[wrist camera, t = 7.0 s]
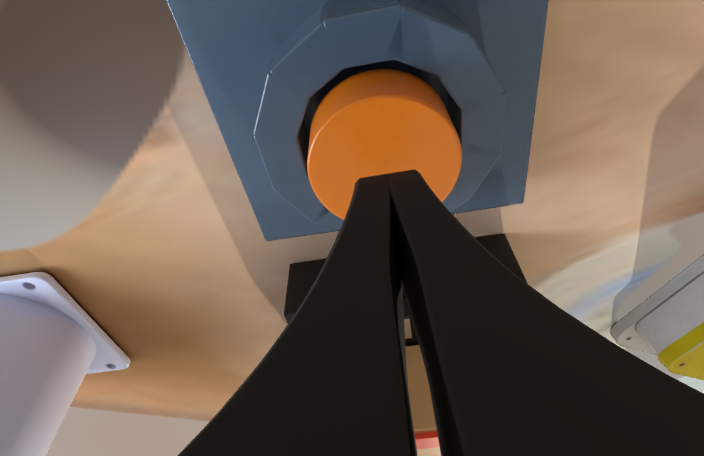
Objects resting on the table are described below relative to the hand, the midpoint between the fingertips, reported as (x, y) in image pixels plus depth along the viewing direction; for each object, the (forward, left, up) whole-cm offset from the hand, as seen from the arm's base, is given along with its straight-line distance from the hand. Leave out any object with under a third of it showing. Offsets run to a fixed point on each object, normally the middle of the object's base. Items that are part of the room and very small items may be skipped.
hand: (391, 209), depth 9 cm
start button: (0, 0, -3) cm, 3 cm away
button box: (0, 0, -6) cm, 6 cm away
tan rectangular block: (0, -13, -3) cm, 14 cm away
